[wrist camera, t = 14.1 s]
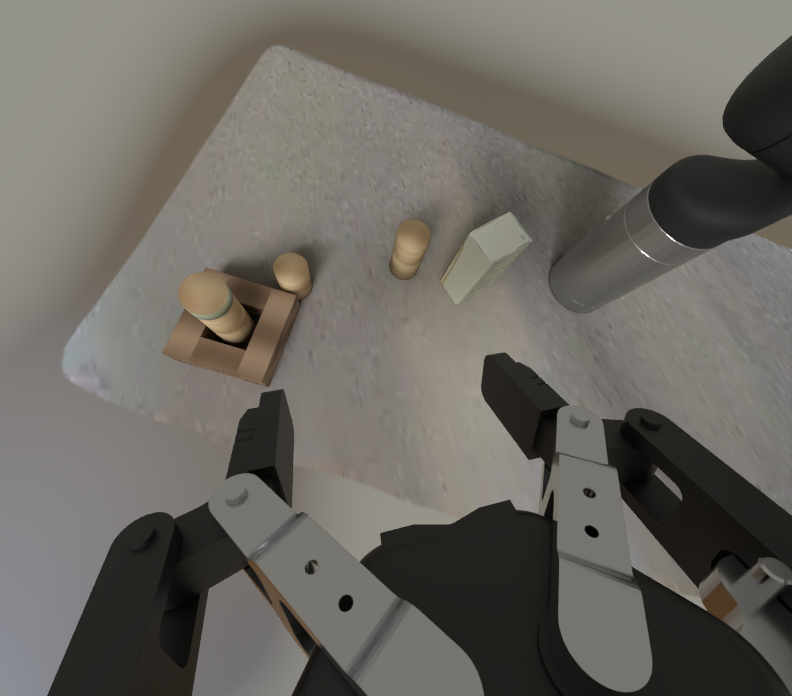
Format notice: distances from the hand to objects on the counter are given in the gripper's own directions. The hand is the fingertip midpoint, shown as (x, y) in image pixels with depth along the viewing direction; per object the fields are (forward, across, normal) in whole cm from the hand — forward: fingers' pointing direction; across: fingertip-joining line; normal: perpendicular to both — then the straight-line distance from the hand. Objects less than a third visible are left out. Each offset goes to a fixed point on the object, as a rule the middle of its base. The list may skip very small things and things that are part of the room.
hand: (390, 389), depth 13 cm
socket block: (+30, +13, +11) cm, 34 cm away
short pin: (+34, +6, +7) cm, 35 cm away
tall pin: (+30, +13, +11) cm, 34 cm away
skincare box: (+32, -18, +9) cm, 38 cm away
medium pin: (+35, -9, +6) cm, 37 cm away
